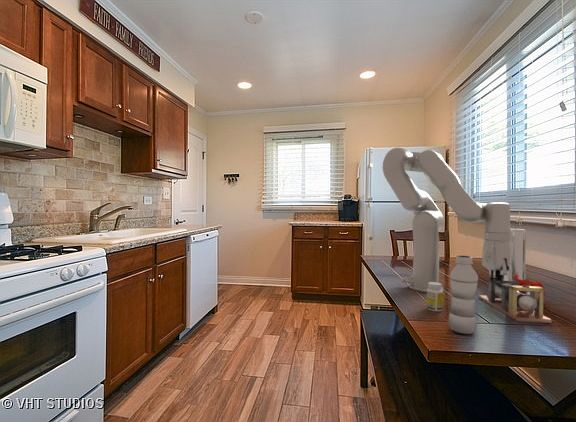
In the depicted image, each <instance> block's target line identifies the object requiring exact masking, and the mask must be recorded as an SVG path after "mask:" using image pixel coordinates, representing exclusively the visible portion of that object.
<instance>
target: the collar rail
mask: <svg viewBox="0 0 576 422" xmlns="http://www.w3.org/2000/svg"><path fill="white" fill-rule="evenodd" d="M495 283H502V284H503V285H502V298H500V297H498V296H496V295H495ZM504 284H511V285H504ZM517 291H526V294H527V295H529V296H531V297H532V298H534V291H535V300H536V302H537V307H536V309H535V310H533V311H530V312H528V311H525V310H522V309H520V308H518V307H517ZM544 291H545V288H541V287H539V286H525V285H523V286H518V281H516V280H504V279H502V280H497V279H490V278H489V279H488V293H486V294H485V295H484V294H482V295H481V294H478V299H479V300H482V301H483V302H485V303H486V304H488V305H490V306H492V307H493V308H494V309H497V310H498V311H500V312H501V313H503V314H505V315H507V316H508V317H510V318H511V319H513V320H514V321H517V322H527V323H528V322H529V323H542V324H543V323H546V324H552V319H551V318H549V317H548V316H545V315H544V299H543V294H544Z"/></svg>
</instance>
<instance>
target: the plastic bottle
mask: <svg viewBox="0 0 576 422" xmlns="http://www.w3.org/2000/svg"><path fill="white" fill-rule="evenodd" d="M472 265H473V257H472V256H470V255H462V254H461V255H456V256H455V266H454V267H453V268H452V269H451V271H450V274H449V280H450V289H451V292H450V293H451V301H450V303H451V304H450V308H449V310H450V311H449V315H448V326H449V328H450V329H451V330H452V331H453V332H455V333H458V334H464V335H472V334H474V333H475V332H476V331H477V328H478V321H477V320H478V319H477V316H476V314H477V313H476V294H477V293H476V292H477V288H478V282H479V276H478V274H477V272H476V271H475V269H474V268H473V266H472Z"/></svg>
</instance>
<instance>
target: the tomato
mask: <svg viewBox="0 0 576 422" xmlns="http://www.w3.org/2000/svg"><path fill="white" fill-rule="evenodd" d="M516 281H518V286H523V285H525V286H539V287H541V288H544V285H543V284H542V283H541V282H540V281H532V280H530V279H526V278H525V279H524V280H521V279H517V280H516ZM544 289H545V288H544ZM519 292H521V293H523V294H526V291H519ZM545 292H546V291H545V290H544V294H543V300H544V299H545V295H546V293H545ZM534 299H535V291H534Z"/></svg>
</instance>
